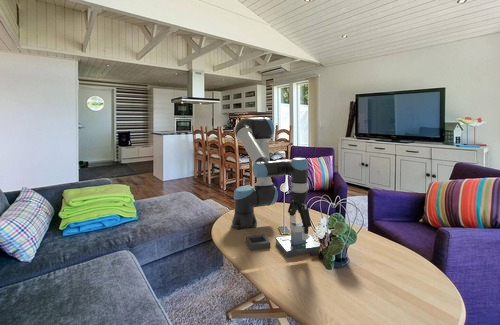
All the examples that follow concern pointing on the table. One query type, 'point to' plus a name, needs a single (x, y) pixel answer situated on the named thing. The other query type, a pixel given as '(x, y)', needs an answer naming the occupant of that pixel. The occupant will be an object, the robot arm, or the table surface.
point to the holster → (257, 242)
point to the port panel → (298, 246)
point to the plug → (297, 233)
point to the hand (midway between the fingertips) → (298, 233)
